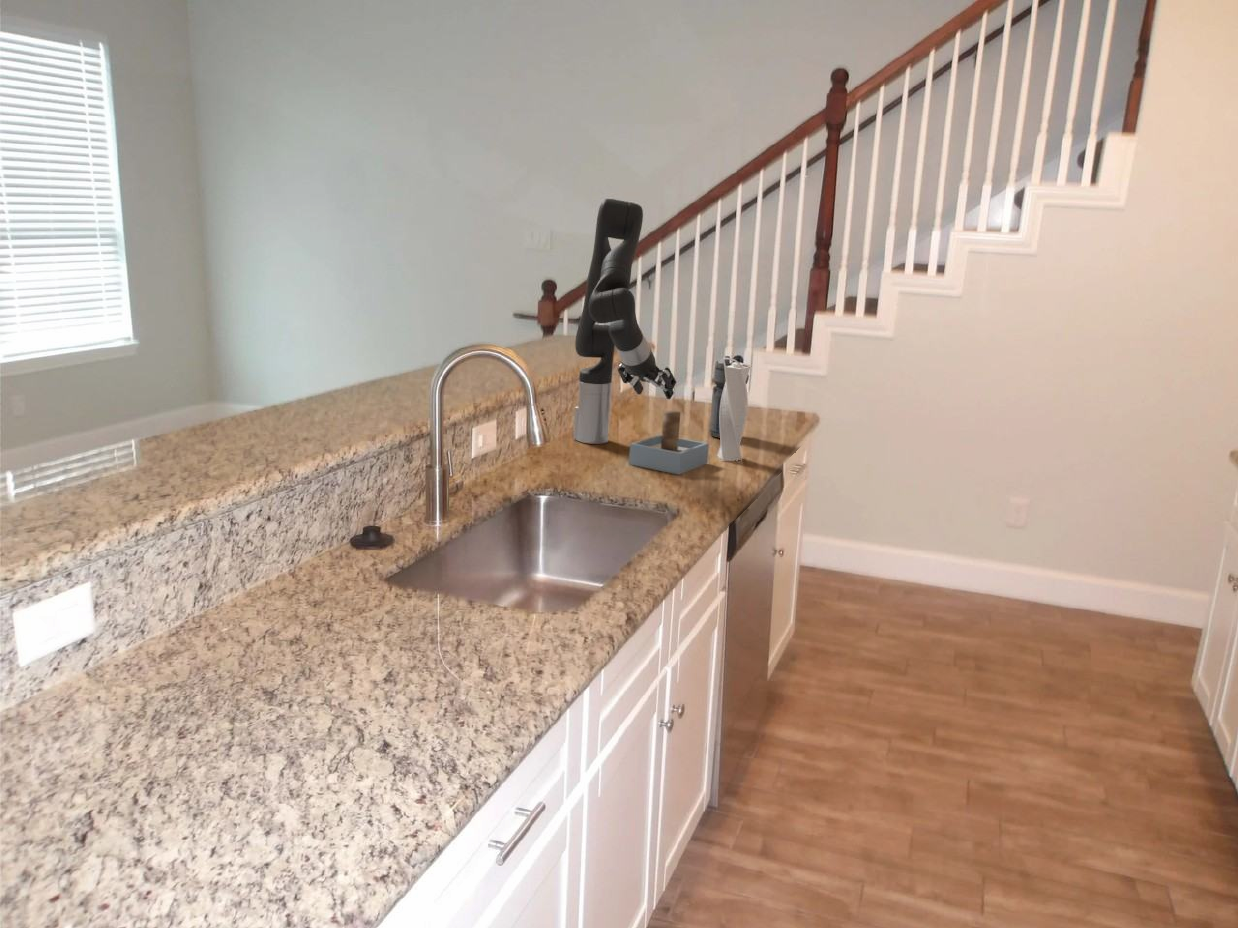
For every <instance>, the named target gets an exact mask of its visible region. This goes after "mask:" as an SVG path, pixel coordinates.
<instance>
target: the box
mask: <svg viewBox="0 0 1238 928" xmlns="http://www.w3.org/2000/svg"><path fill="white" fill-rule="evenodd" d="M661 443H662V433H661V434H657V435H654V436H650V437H648V438H644V439H641V440H638V441H635V442H631V443H629V454H628V455H629V456H628V465H631V466H634V467H635V466H636V467H641V468H646V469H650V470H654V471H658V472H659V471H660V472H664V473H665V472H666V473H669V474H675V475H677V476H679V475H682V474H684V473H687V472H689V471H692V470H694V469H697V468H699V467H702V466H705V465H707V464H708V462H709V460H708V459H709V445H710V444H709V442H705V441H704V442H703V441H698V440H697V441H696V440H693V439H692V440H691V439H688V438H687V439H686V438H682V437H681V438H680V437H679V439H678V452H675V451H669V450H664V449H661Z"/></svg>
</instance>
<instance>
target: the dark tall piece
mask: <svg viewBox="0 0 1238 928" xmlns="http://www.w3.org/2000/svg"><path fill="white" fill-rule="evenodd" d="M724 358H731V356H730V355H729V356H728V355H725V356H724ZM732 359H735V360H737V361H738V362H739V363H744V358H743V356H742V355H741V354H739V355H738V354H736V355H734V356H733V357H732ZM730 361H732V360H725V365H726V366H730V365H732V363H733V362H735V361H732V362H730ZM743 366H745V365H743ZM745 367H748V366H745ZM749 378H750V376H749V374H748V376H747V379H746V385H747V384H748V381H749ZM713 382H714V383H715V385H714V386H713V387H712V393H711V394H712V396H711V404H710V405H711V406H710V407H711V408H710V419H709V420H710V421H709V434H710V435H711V436H712V437H713V438H715V437H718V438H717V439H719V438H720V426H719V414H720V403H721V397H722V393H723V389H724V385H725V382H726V378H725V368H724V363H723V362H719V360H718V361H716V362H715V363H714V371H713Z"/></svg>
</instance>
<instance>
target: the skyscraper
mask: <svg viewBox="0 0 1238 928" xmlns="http://www.w3.org/2000/svg"><path fill="white" fill-rule="evenodd" d="M732 358H733V357H732ZM732 358H731V357H730V358H725V357H723V358H722V363H724V368H725V378H726V382H725V385H724V389H723V393H722V397H721V403H720V414H719V426H720V439H719V440H720V446H719V449H718V452H717V454H716V457H717V456H718V457H719V458H718V457H717V458H718V459H720V458H721V459H722V460H721V459H720V460H721V461H722V462H739V461H738V460H741V461H740V462H743V459H742V454H741V451H740V445H741V442H742V439H743V435H744V431H745V428H746V423H747V419H748V418H747V416H748V406H749V399H748V388H747V384H746V379H747V376H748V375H749V373H750V369H751V366H750V364H749V363H748V364H747V363H744V362H743V363H739V362H738V361H737V360H735V359H732ZM725 360H730V361H731V360H732V362H733V361H735V362H733V363H732V362H731V363H732V365H730V366H726V365H725ZM743 365H745V366H748V367H745V366H743ZM735 460H736V461H735Z"/></svg>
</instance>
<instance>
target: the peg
mask: <svg viewBox="0 0 1238 928" xmlns="http://www.w3.org/2000/svg"><path fill="white" fill-rule="evenodd" d="M662 418H663V419H662V432H661V435H662V443H661V449H664V450H669V451H675V452H678V439H679V438H680V437H679V436H680V424H681V423H680V422H681V412H680V411H678V410H664V411H663V417H662Z"/></svg>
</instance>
